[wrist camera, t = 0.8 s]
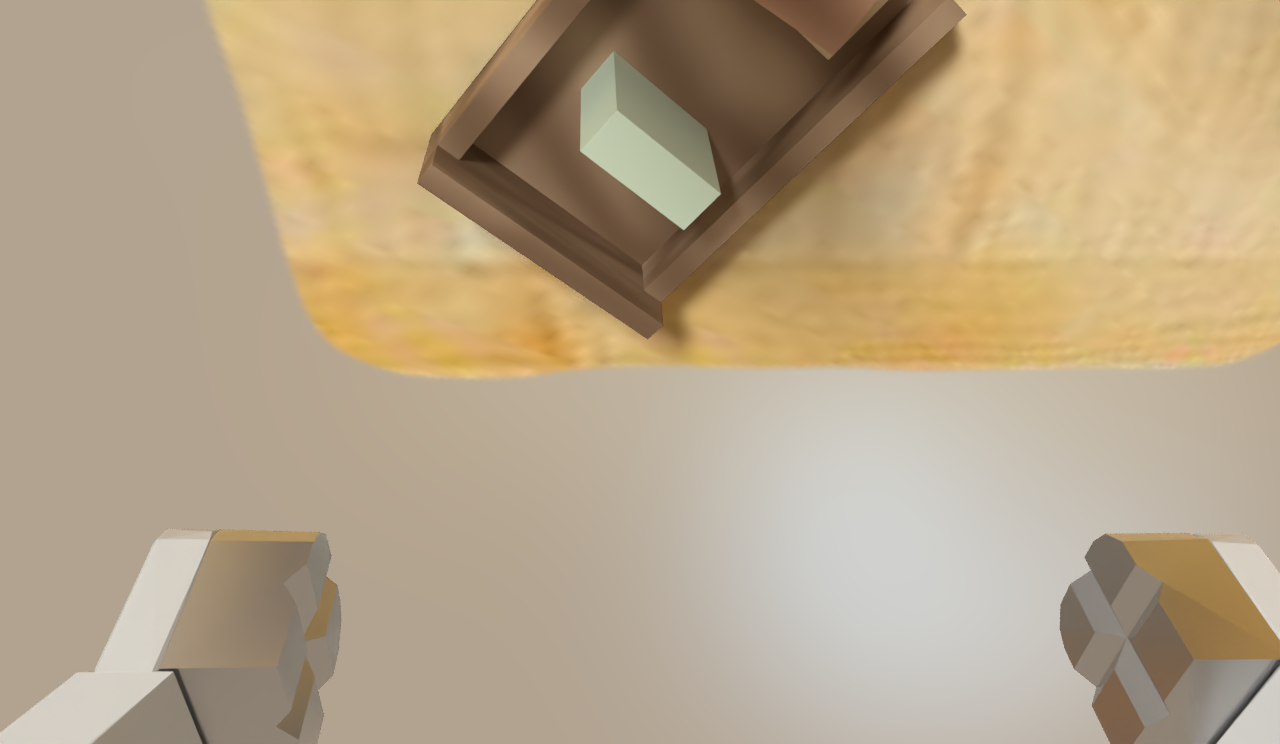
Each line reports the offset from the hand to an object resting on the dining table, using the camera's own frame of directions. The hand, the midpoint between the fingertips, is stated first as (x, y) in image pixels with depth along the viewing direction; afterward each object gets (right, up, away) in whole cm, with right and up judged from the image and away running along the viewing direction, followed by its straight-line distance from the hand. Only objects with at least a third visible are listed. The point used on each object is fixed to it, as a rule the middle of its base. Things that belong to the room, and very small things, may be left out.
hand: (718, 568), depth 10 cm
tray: (+1, +17, +35) cm, 39 cm away
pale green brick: (-1, +15, +35) cm, 38 cm away
